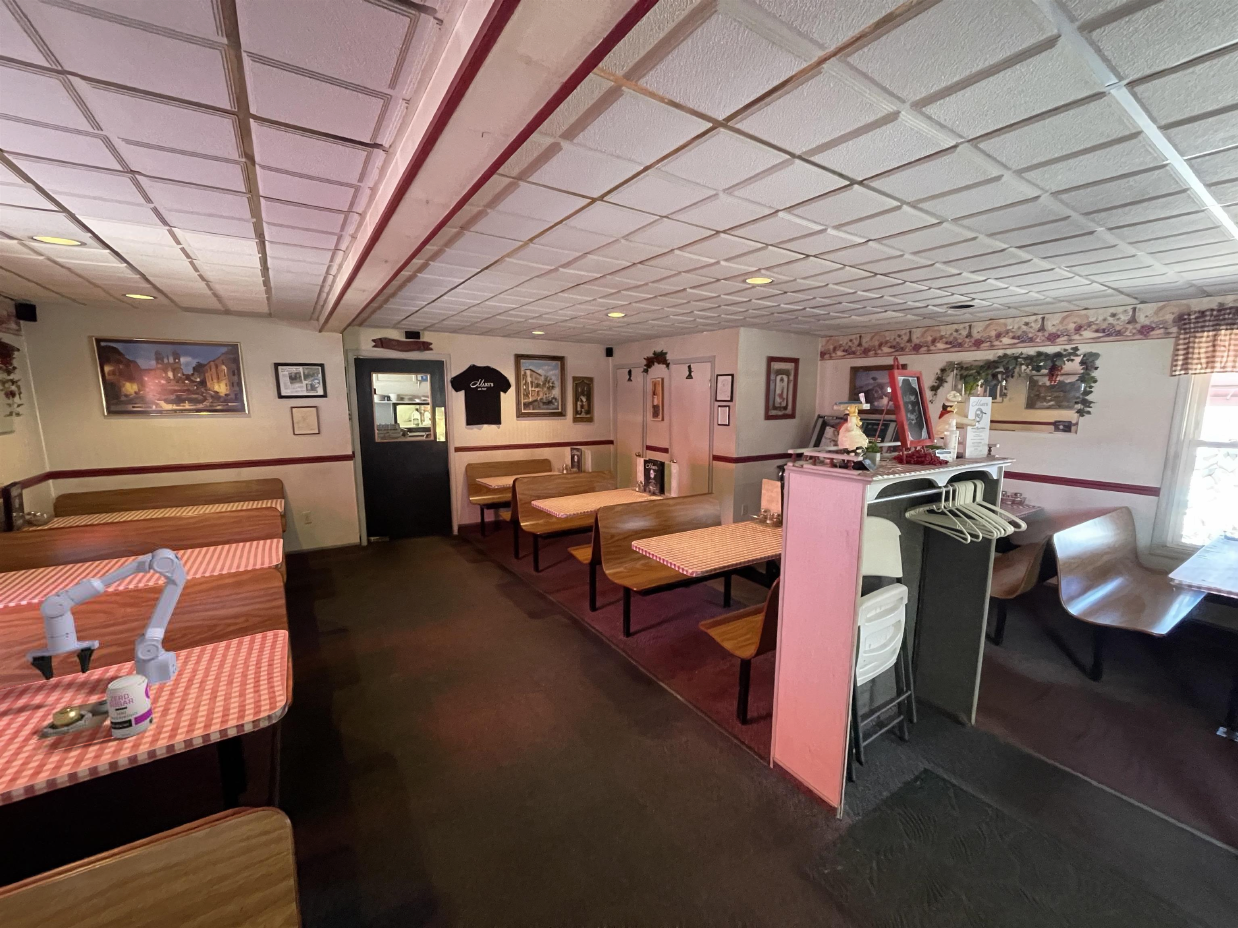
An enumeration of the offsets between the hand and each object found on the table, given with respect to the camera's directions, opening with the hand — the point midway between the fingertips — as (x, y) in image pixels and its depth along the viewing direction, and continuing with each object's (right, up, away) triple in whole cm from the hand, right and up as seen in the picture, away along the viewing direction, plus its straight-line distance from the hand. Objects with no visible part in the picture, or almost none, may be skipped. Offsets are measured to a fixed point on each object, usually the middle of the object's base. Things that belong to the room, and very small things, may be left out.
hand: (67, 675), depth 144 cm
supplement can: (+30, -12, -9) cm, 33 cm away
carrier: (+11, -11, -5) cm, 16 cm away
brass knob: (+10, -11, -9) cm, 17 cm away
